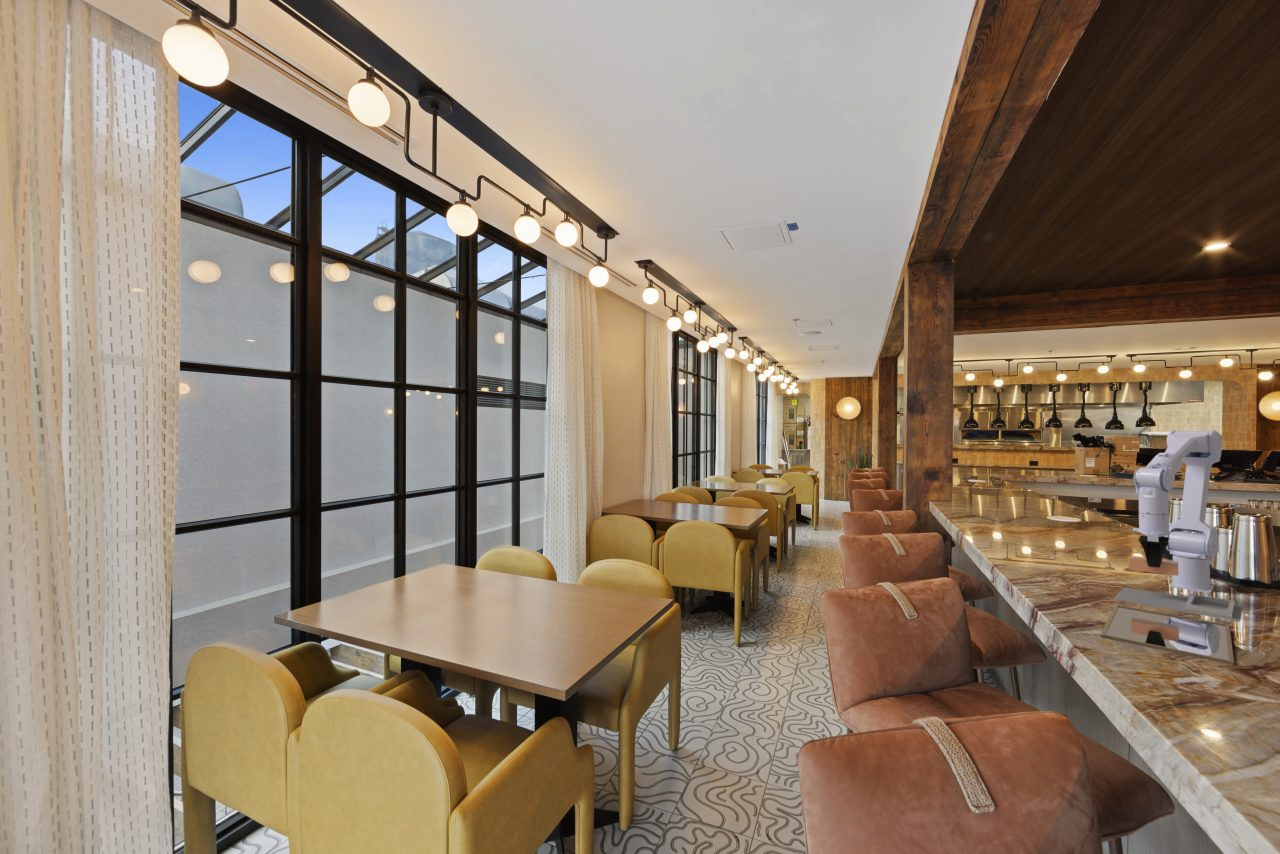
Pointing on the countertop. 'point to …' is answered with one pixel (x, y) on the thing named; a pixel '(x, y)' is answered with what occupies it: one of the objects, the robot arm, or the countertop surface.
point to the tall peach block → (1164, 568)
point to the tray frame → (1208, 610)
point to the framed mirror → (1170, 633)
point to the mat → (1170, 602)
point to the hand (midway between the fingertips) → (1154, 565)
